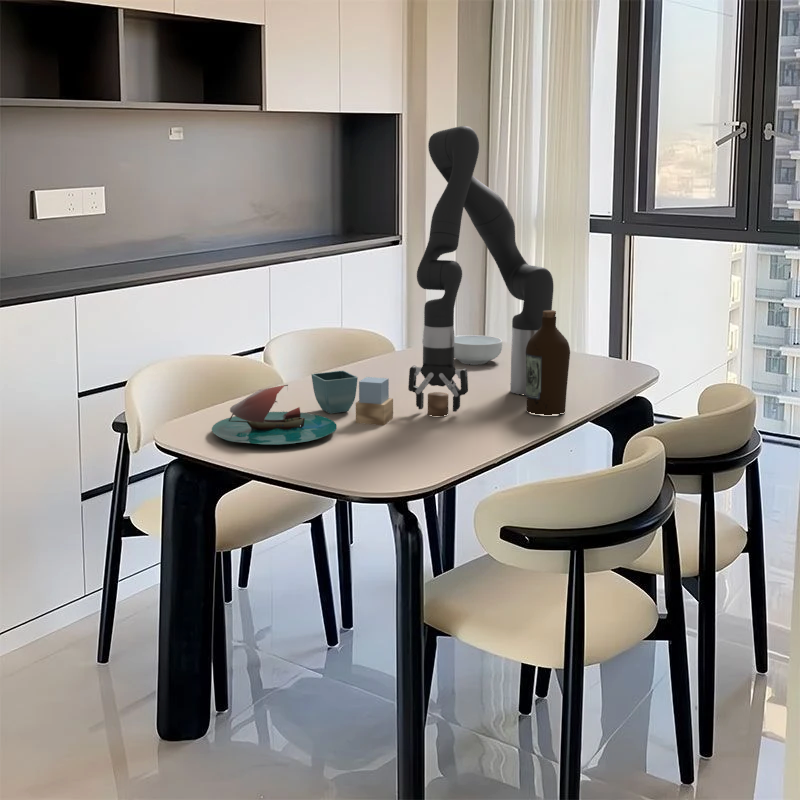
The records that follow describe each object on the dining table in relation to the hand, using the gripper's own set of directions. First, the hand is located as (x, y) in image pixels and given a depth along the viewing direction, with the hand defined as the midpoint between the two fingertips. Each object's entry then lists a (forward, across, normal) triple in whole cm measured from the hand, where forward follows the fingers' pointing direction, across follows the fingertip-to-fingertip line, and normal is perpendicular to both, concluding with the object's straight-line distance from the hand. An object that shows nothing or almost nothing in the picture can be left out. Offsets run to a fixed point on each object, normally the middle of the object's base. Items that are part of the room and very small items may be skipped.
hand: (437, 409), depth 266 cm
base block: (+1, +13, +10) cm, 16 cm away
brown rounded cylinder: (+1, 0, 0) cm, 1 cm away
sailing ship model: (+1, +31, +28) cm, 42 cm away
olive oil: (+1, -25, -10) cm, 26 cm away
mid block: (-4, +13, +10) cm, 17 cm away
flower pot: (+1, +25, +4) cm, 25 cm away
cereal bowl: (+1, +5, -65) cm, 65 cm away
